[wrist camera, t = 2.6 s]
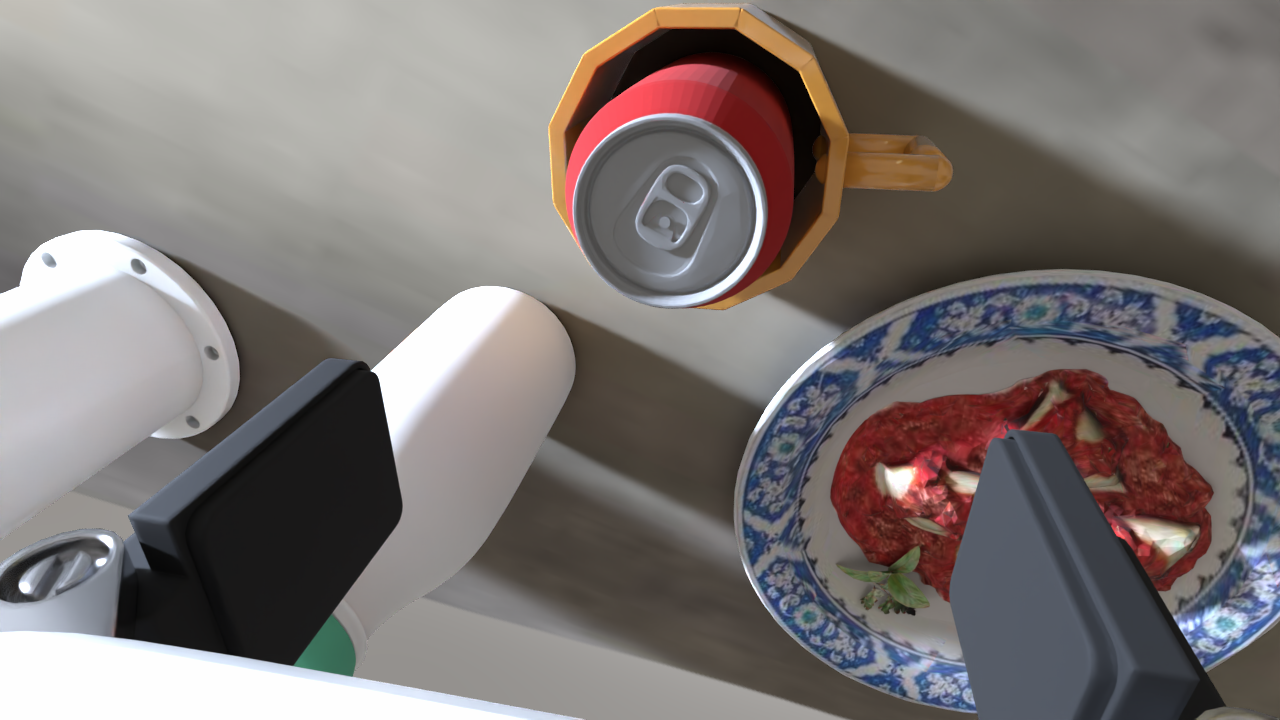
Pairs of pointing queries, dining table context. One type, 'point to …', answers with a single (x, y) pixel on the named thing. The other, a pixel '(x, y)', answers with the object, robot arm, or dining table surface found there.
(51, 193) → the dining table surface
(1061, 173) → the dining table surface
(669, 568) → the dining table surface
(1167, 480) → the ceramic plate
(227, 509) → the robot arm
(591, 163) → the beverage can
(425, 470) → the milk bottle
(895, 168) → the mug
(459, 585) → the dining table surface
